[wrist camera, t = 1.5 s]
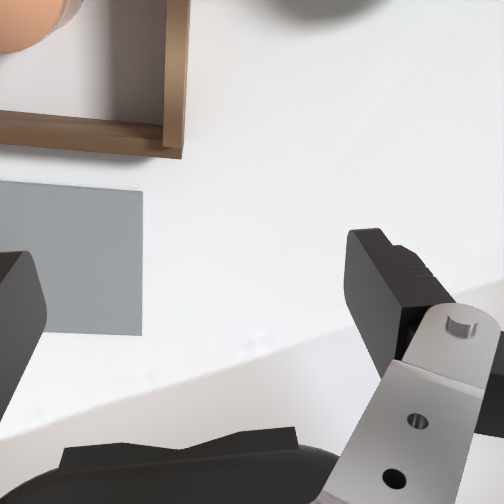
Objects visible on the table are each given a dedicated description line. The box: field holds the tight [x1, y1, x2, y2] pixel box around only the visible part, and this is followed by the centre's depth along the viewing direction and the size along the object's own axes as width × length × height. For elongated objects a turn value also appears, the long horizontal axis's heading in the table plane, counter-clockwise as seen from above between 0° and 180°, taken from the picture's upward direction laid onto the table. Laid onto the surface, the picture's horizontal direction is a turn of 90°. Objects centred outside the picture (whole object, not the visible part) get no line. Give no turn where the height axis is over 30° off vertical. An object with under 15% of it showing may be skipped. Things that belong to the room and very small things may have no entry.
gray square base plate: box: [0, 181, 143, 336], centre depth 34 cm, size 12×12×1 cm
